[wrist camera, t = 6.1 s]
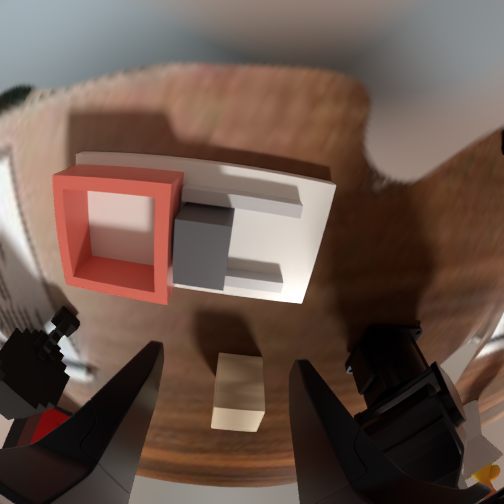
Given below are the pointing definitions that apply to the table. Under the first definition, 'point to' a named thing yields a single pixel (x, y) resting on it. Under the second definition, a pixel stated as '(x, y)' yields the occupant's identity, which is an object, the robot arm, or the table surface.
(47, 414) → the cleaning product box
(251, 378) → the block
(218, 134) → the table surface
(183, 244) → the toggle
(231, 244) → the slide switch base
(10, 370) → the security camera
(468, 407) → the lava lamp
